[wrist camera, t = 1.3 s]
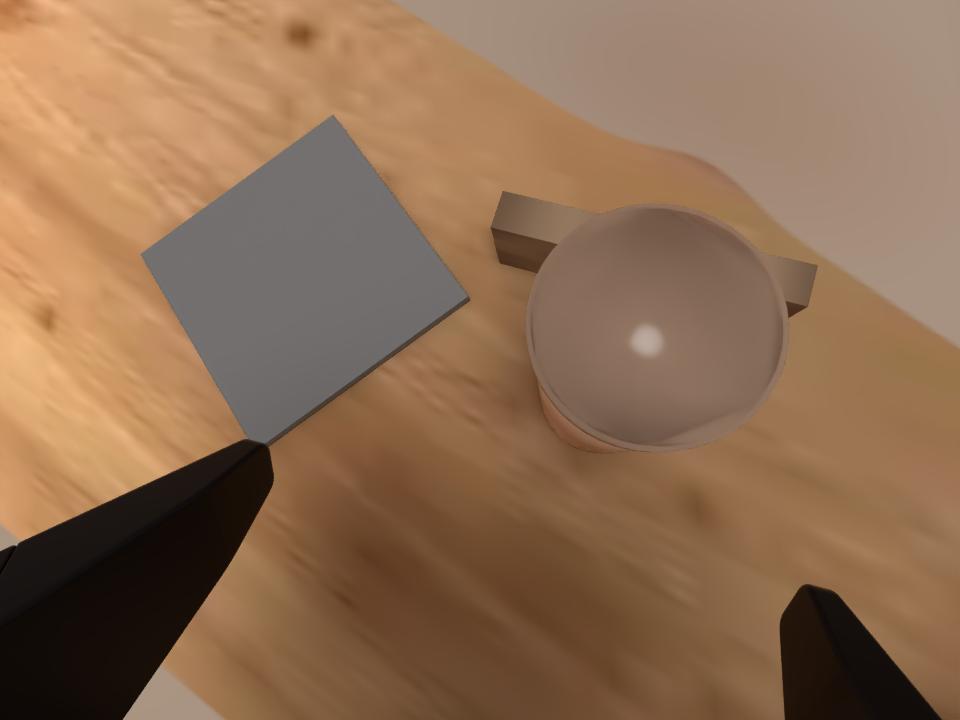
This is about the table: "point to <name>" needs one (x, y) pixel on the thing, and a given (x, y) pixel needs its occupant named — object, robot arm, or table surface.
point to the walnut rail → (542, 225)
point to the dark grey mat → (301, 282)
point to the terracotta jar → (654, 331)
